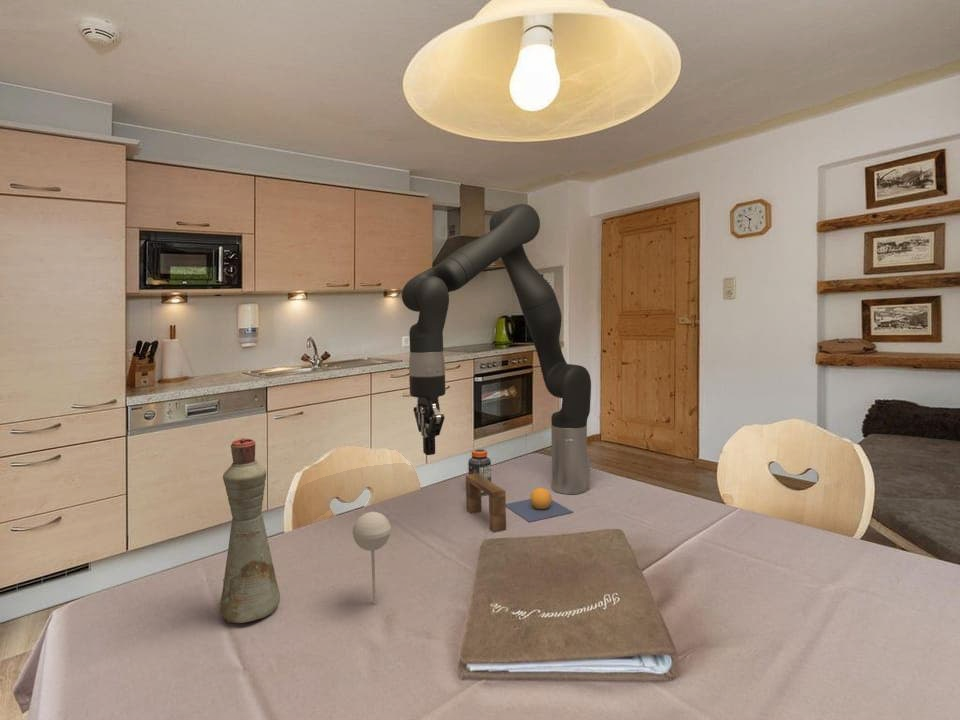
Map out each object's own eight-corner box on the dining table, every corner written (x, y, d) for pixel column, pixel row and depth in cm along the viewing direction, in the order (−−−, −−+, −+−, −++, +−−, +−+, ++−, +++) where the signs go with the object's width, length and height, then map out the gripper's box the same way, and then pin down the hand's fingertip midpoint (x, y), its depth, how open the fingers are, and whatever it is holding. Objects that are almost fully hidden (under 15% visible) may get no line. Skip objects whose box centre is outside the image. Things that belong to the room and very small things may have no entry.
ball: (547, 495, 125) (537, 481, 123) (559, 501, 120) (548, 486, 119) (533, 509, 123) (522, 495, 122) (544, 516, 119) (534, 501, 117)
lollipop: (401, 602, 82) (398, 512, 81) (370, 618, 78) (367, 523, 76) (378, 589, 86) (375, 503, 85) (348, 604, 82) (344, 513, 81)
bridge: (477, 508, 122) (477, 473, 121) (506, 529, 110) (505, 490, 109) (466, 510, 121) (465, 475, 120) (493, 532, 108) (493, 492, 108)
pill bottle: (465, 490, 135) (464, 449, 134) (485, 487, 137) (484, 446, 136) (474, 497, 130) (473, 454, 129) (495, 494, 132) (494, 451, 131)
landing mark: (544, 496, 129) (544, 496, 129) (573, 512, 118) (573, 511, 118) (503, 505, 124) (503, 504, 124) (529, 522, 113) (529, 521, 113)
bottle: (218, 634, 75) (206, 447, 72) (222, 603, 83) (211, 434, 81) (281, 619, 78) (272, 440, 76) (279, 591, 86) (270, 428, 84)
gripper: (456, 374, 102) (457, 459, 104) (432, 369, 114) (434, 445, 116) (420, 377, 99) (423, 464, 101) (400, 371, 111) (403, 449, 112)
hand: (429, 453), depth 108 cm, fingers closed
